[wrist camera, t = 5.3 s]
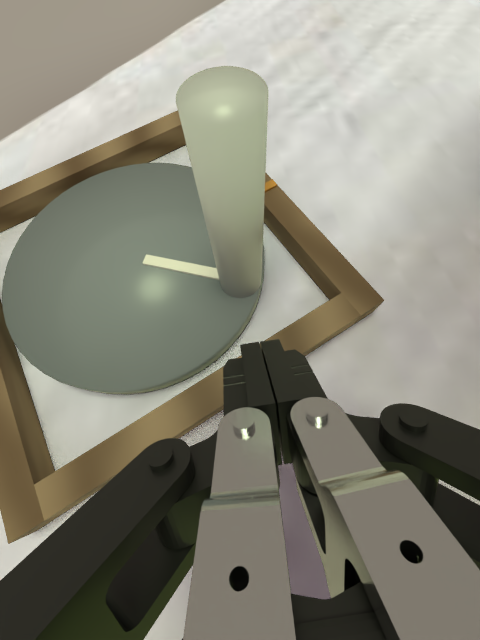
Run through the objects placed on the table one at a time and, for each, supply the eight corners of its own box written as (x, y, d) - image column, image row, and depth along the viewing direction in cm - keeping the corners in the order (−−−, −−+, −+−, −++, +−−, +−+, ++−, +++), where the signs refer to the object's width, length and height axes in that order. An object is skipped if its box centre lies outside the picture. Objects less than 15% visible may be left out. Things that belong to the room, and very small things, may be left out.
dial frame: (202, 121, 29) (198, 98, 27) (372, 312, 21) (385, 298, 19) (-45, 236, 25) (-72, 219, 23) (36, 531, 17) (5, 545, 15)
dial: (190, 148, 28) (136, -88, 15) (315, 300, 21) (405, 105, 8) (-7, 242, 25) (-283, 46, 12) (65, 455, 18) (-386, 516, 5)
